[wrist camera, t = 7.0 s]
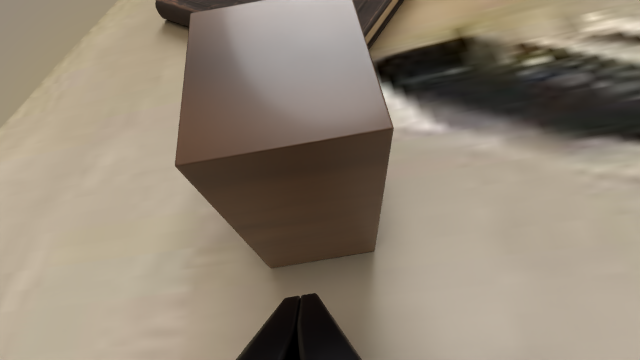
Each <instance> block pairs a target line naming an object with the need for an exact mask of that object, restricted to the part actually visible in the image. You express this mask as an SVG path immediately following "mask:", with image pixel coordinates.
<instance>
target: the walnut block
mask: <svg viewBox="0 0 640 360" xmlns="http://www.w3.org/2000/svg"><path fill="white" fill-rule="evenodd" d="M393 129H394V128H393V125H392V121H391V118H390V115H389V112H388V109H387V106H386V103H385V99H384V96H383V93H382V90H381V87H380V84H379V81H378V77H377V74H376V71H375V68H374V65H373V62H372V59H371V56H370V52H369V49H368V46H367V43H366V40H365V37H364V34H363V30H362V27H361V24H360V21H359V18H358V15H357V12H356V8H355V5H354V2H353V0H262V1H257V2H251V3H246V4H240V5H235V6H229V7H224V8H218V9H213V10H207V11H202V12H196V13H191V14H190V24H189V34H188V44H187V53H186V63H185V73H184V82H183V92H182V102H181V111H180V121H179V131H178V141H177V150H176V160H175V167H176V168H177V169H178V170H179V171H180V172H181V173H182V174H183V175H184V176H185V177H186V178H187V179H188V181H189V182H190V183H191V184H192V185H193V186H194V187H195V188H196V189H197V190H198V191H199V192H200V193H201V194H202V195H203V197H204V198H205V199H206V200H207V201H208V202H209V203H210V204H211V205H212V206H213V207H214V208H215V209H216V210H217V211H218V213H219V214H220V215H221V216H222V217H223V218H224V219H225V220H226V221H227V222H228V223H229V224H230V225H231V226H232V227H233V229H234V230H235V231H236V232H237V233H238V234H239V235H240V236H241V237H242V238H243V239H244V240H245V241H246V242H247V244H248V245H249V246H250V247H251V248H252V249H253V250H254V251H255V252H256V253H257V254H258V255H259V256H260V257H261V258H262V260H263V261H264V262H265V263H266V264H267V265H268V266H269V267H270V268H275V267H281V266H287V265H293V264H300V263H306V262H312V261H318V260H324V259H330V258H336V257H342V256H348V255H354V254H360V253H366V252H372V251H375V245H376V238H377V232H378V225H379V219H380V212H381V206H382V199H383V193H384V187H385V180H386V174H387V167H388V161H389V154H390V148H391V141H392V135H393Z"/></svg>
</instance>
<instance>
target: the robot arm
mask: <svg viewBox="0 0 640 360" xmlns="http://www.w3.org/2000/svg"><path fill="white" fill-rule="evenodd" d="M236 360H362V359H361V358H360V356H359V355H358V354H357V352H356V351H355V349H354V348H353V346H352V345H351V343H350V342H349V340H348V339H347V337H346V336H345V335H344V333H343V332H342V330H341V329H340V327H339V326H338V324H337V323H336V321H335V320H334V318H333V317H332V315H331V314H330V313H329V311H328V310H327V308H326V307H325V305H324V304H323V302H322V301H321V299H320V298H319V296H318V295H317V294H316V293H313V294H307V295H302V296H301V298H300V296H295V297H288V298H285V299H284V300H283V301H282V302H281V303H280V305H279V306H278V307H277V308H276V310H275V311H274V312H273V314H272V315H271V316H270V317H269V319H268V320H267V321H266V322H265V324H264V325H263V326H262V327H261V329H260V330H259V331H258V332H257V334H256V335H255V336H254V337H253V339H252V340H251V341H250V342H249V344H248V345H247V346H246V347H245V349H244V350H243V351H242V353H241V354H240V355H239V356H238V358H237V359H236Z"/></svg>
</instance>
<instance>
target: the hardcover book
mask: <svg viewBox="0 0 640 360" xmlns="http://www.w3.org/2000/svg"><path fill="white" fill-rule="evenodd" d="M257 1H262V0H156V3H155V5H156V9H157V11H158V13H159V14H160V16H161V17H162V18H164V19H167V20H170V21H173V22H176V23H179V24H182V25H185V26H188V27H189V24H190V14H191V13H196V12H202V11H207V10H213V9H218V8H224V7H229V6H235V5H240V4H246V3H251V2H257ZM353 2H354V5H355V8H356V12H357V15H358V18H359V21H360V24H361V27H362V30H363V34H364V37H365V40H366V43H367V46H368V49H369V48H370V47H371V45H372V44H373V43H374V41H375V40H376V38H377V37H378V36H379V34H380V33H381V31H382V30H383V28H384V27H385V26H386V24H387V23H388V21H389V20H390V19H391V17H392V16H393V14H394V13H395V12H396V10H397V9H398V7H399V6H400V5H401V3H402V2H403V0H353Z"/></svg>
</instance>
